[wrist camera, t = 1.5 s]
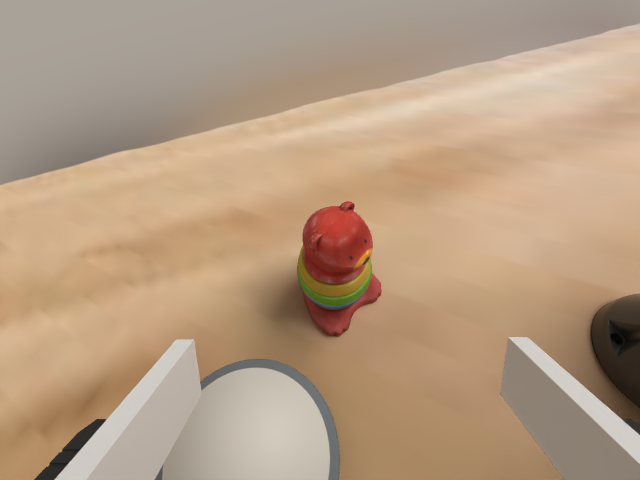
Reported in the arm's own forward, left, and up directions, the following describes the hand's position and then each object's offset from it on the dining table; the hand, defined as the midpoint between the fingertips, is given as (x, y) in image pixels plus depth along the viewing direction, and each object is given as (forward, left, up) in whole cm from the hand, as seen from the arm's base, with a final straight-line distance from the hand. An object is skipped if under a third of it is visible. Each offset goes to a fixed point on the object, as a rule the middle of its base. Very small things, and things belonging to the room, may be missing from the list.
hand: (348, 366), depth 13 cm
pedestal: (+11, 0, -28) cm, 30 cm away
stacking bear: (-7, -12, -28) cm, 31 cm away
